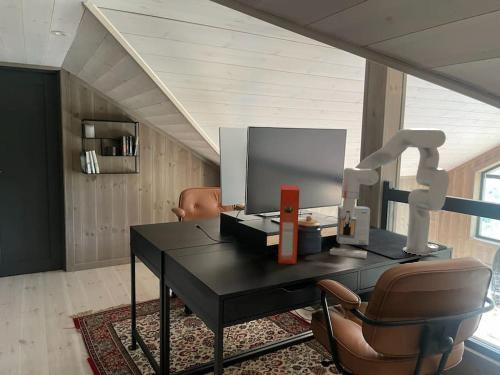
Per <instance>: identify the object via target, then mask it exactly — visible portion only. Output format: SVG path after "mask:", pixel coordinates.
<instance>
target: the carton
mask: <svg viewBox="0 0 500 375" xmlns="http://www.w3.org/2000/svg"><path fill="white" fill-rule="evenodd" d="M356 219H357V217H353V220H352V221H351V225H350V227H351V233H350V236H347V235H343V228H344V221H345V218H344V219H343V220H342V216H341V217H340V227H339V237H345V238H353V239H354V238H355V232H356ZM349 220H350V219H349Z"/></svg>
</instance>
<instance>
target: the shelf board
mask: <svg viewBox="0 0 500 375" xmlns="http://www.w3.org/2000/svg"><path fill="white" fill-rule="evenodd" d="M367 253H368V251H365V250H356V249H349V248H348V249H347V248H340V247H332V248H331V249H329V255H334V256H340V257H342V256H343V257H350V258H356V259H357V258H359V259H367Z"/></svg>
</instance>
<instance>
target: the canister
mask: <svg viewBox="0 0 500 375" xmlns="http://www.w3.org/2000/svg"><path fill="white" fill-rule="evenodd" d="M322 231H323V227H321V222H319V221H318V220H317V219H313V218H312V216H311V215H307V216H306V218H303V219H301V218H300V220H298V239H297V255H301V256H307V255H308V254H317V253H320V252H322V237H323V235H322Z"/></svg>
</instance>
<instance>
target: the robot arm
mask: <svg viewBox="0 0 500 375" xmlns="http://www.w3.org/2000/svg"><path fill="white" fill-rule="evenodd" d="M446 139H447V136H446V134H445V132H444V131H443V130H442V129H438V128H436V129H435V128H429V129H428V128H402V129H400V130H397V132H395V133H394V134H393V136H392V137H391V138H390V139H389V140H388V141H387V142H386V143H385V144H384V145H382V146H381V148H380V149H378V150H376V151H374V152H373V153H371V154H369V155H368V156H366V157H364V158H363V159H362V160H361V161H360V162H359V163H358V164H357V165H356V166H355V167H354V168H353V167H346V168H344V169H343V172H342V174H343V175H342V186H341V187H342V188H341V199H343V201H342V206H343V208H342V220H343V219H344V218H345V221H344V228H343V235H347V236H350V233H351V227H350V225H351V221H352V220H353V217H354V211H355V206H356V200H359V198H360V197H359V195H360V185H364V186H365V185H366V186H371V185H375V184H376V183H378V181H379V178H380V176H379V172H378V171H376V169H378V168H379V167H382V166H386V165H389V164H392V163H394V162H395V161H396V160H397V159H399V157H400V156H401V155H402V154H403V153H404V152H405V151H406V150H407V149H408V148H417V150H418V152H419V162H418V166H417V171H416V176H415V181H416V183H417V184H418V185H419V186H422V187H425V188H414V189H412V190H411V191H410V193H409V194H408V199H407V200H408V225H407V236H406V246H405V247H403V248H402V251H403V252H404V251H405V252H407V254H408V253H411V254H410V255H412V254H416V255H415V256H419V255H421V256H422V257H425V256H426V257H427V256H430V255H431V251H432V252H436V253H437V252H439V247H437V246H436V247H435V246H430V245H429V232H430V225H431V224H430V222H431V214H430V212H438V211H441V209H442V208H443V207H444V206H445V202H446V198H447V194H448V190H449V184H450V175H449V173H448V172H447V170H445V169H444V168H441V167H439V162H440V153H439V149H438V148H441V147H442V146H443V145H444V144H445V143H446ZM426 188H427V189H426ZM349 219H350V220H349ZM405 252H404V253H405Z"/></svg>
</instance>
